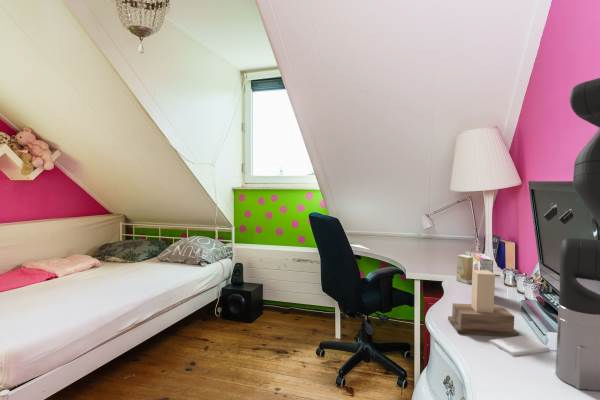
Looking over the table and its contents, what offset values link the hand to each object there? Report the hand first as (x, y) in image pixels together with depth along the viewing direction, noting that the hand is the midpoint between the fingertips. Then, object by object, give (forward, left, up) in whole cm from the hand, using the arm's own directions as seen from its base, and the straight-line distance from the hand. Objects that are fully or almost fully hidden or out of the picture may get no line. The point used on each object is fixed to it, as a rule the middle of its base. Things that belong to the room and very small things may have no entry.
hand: (553, 220), depth 111 cm
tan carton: (-2, +21, -29) cm, 35 cm away
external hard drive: (-14, +15, -35) cm, 41 cm away
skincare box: (+53, +9, -35) cm, 64 cm away
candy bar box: (+32, +9, -35) cm, 48 cm away
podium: (-2, +21, -35) cm, 40 cm away
